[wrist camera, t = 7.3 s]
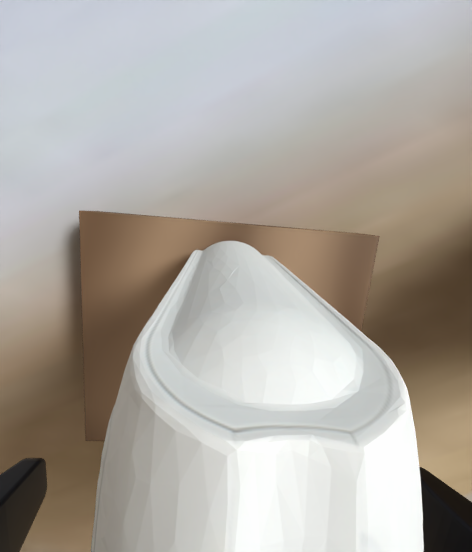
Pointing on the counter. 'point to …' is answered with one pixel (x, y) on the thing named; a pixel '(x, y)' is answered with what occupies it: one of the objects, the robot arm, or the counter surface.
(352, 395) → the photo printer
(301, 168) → the counter surface
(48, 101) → the counter surface
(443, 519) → the robot arm
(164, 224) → the walnut stand
